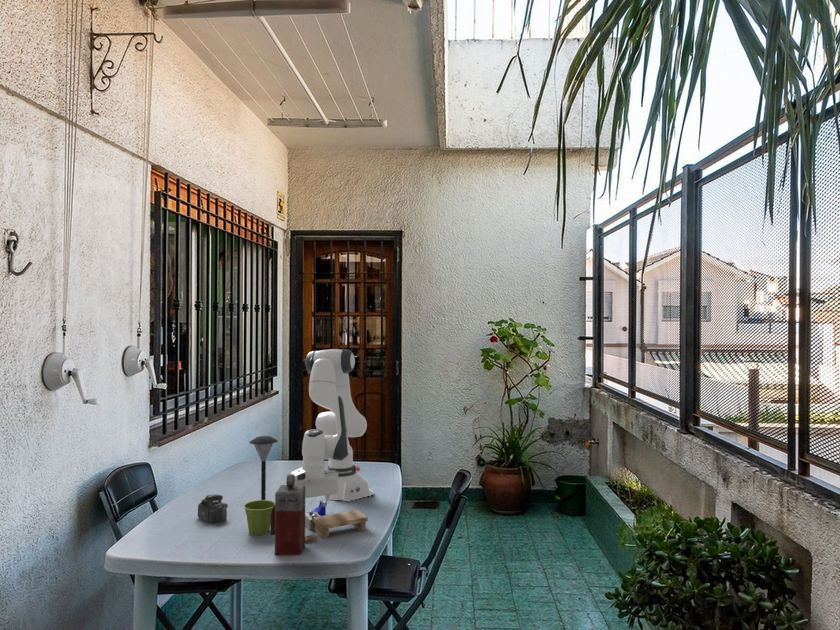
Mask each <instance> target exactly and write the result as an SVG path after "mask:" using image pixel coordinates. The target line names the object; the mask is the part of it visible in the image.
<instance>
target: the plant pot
mask: <svg viewBox="0 0 840 630" xmlns="http://www.w3.org/2000/svg"><path fill="white" fill-rule="evenodd" d="M274 504H275V501H274V500H273V501H272V500H267V499H265V500H261V499H258V500H252V501H248V502H246V503H244V504H243V508H244V509H245V511H244V512H245V514H246V521H247V528H248V529H247V530H248V534H249V535H251V536H261V535H266V534H268V533H269V532H270V531H271V511H272V508H273V506H274Z"/></svg>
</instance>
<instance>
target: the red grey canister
mask: <svg viewBox="0 0 840 630" xmlns="http://www.w3.org/2000/svg"><path fill="white" fill-rule="evenodd" d="M285 483H286V484H281V485H279V487H278V489H277V490H276V492H275V495H274V496H275V497H274V502H275V504H274V506H273V508H272V511H271V525H270V536H274V556H302V554H303V551H304V550H305V547H306V543H305V536H306V526H305V513H306V498H305V485H294V483H295V475H294V474H290V473H289V474H287V475H286V482H285Z"/></svg>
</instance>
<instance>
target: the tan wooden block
mask: <svg viewBox="0 0 840 630" xmlns="http://www.w3.org/2000/svg"><path fill="white" fill-rule="evenodd" d="M317 541H319V536H318V535H316V534H310V535H305V544H308V543H312V542H317Z"/></svg>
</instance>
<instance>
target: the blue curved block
mask: <svg viewBox="0 0 840 630" xmlns="http://www.w3.org/2000/svg"><path fill="white" fill-rule="evenodd" d="M322 501H323V500H320V501H319V504H318V506H317V507H315V508H314V509H313V510H312V511H313V512H317V513H318V514H319V515H320V516H321V515H322V516H324V515H327V514H326V513H327V512H326V509H327V506H325V507H323V506H322Z"/></svg>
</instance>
